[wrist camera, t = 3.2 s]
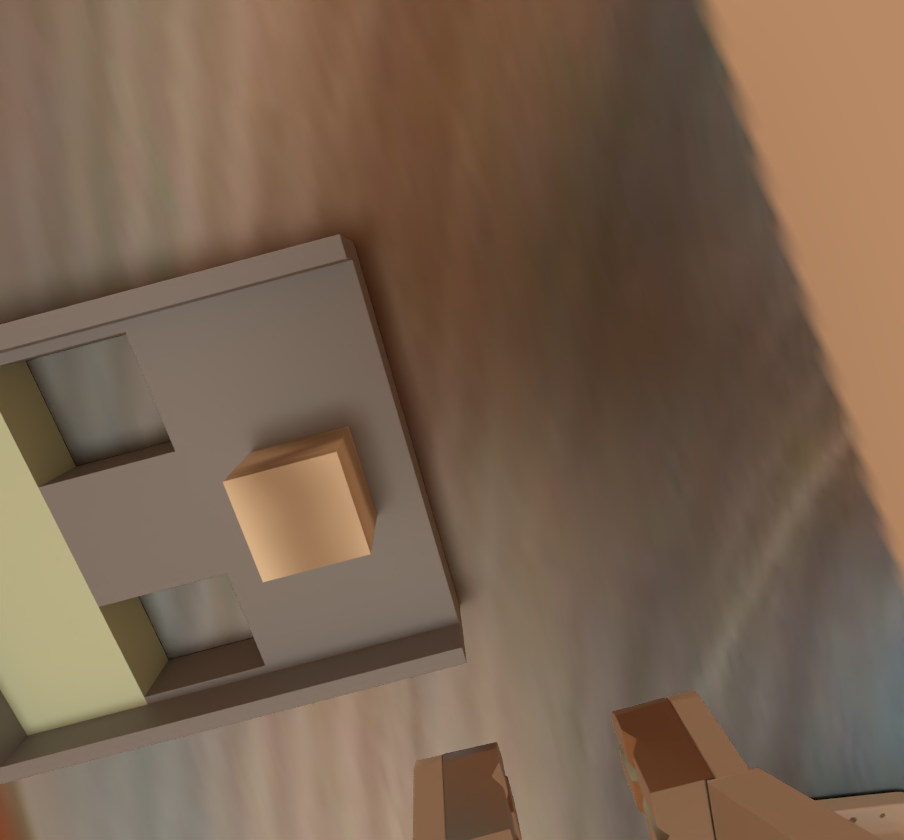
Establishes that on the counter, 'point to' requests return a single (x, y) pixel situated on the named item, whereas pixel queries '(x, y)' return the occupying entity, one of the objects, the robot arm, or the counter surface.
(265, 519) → the birch block
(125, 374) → the counter surface
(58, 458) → the trap board
